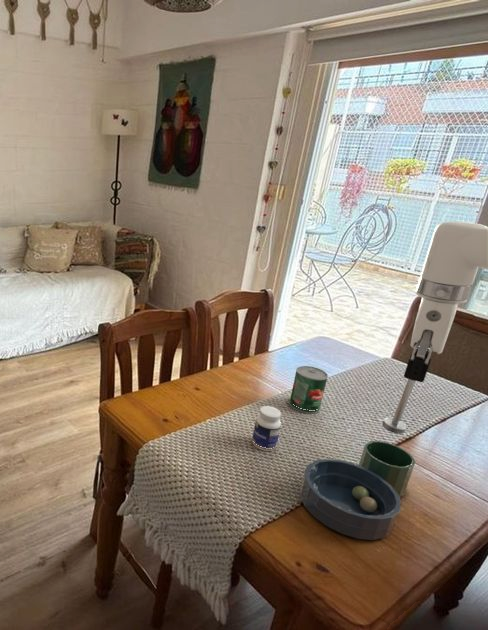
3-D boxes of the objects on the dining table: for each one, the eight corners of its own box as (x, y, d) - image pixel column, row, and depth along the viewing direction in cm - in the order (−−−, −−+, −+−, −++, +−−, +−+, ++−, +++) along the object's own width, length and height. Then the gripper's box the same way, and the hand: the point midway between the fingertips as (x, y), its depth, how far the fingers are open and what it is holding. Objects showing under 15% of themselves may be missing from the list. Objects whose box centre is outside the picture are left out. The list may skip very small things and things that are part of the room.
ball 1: (364, 482, 92) (352, 487, 94) (358, 485, 91) (346, 491, 92) (374, 495, 91) (362, 501, 93) (369, 499, 89) (356, 505, 91)
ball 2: (378, 513, 89) (381, 509, 86) (362, 515, 89) (364, 510, 87) (372, 498, 91) (374, 493, 88) (356, 499, 91) (358, 495, 89)
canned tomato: (317, 417, 122) (326, 382, 118) (287, 408, 126) (294, 374, 122) (321, 404, 128) (329, 370, 124) (291, 395, 132) (298, 363, 128)
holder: (407, 482, 98) (417, 453, 95) (400, 504, 92) (411, 474, 89) (360, 463, 104) (369, 435, 101) (351, 483, 98) (360, 454, 95)
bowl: (398, 507, 91) (406, 484, 89) (384, 558, 80) (393, 534, 78) (312, 470, 102) (317, 448, 100) (288, 510, 90) (293, 487, 88)
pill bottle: (246, 440, 112) (252, 407, 108) (264, 435, 114) (270, 402, 110) (263, 454, 107) (270, 419, 103) (281, 449, 109) (288, 415, 105)
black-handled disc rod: (406, 428, 93) (436, 352, 86) (403, 436, 90) (434, 358, 83) (383, 419, 96) (411, 345, 89) (380, 427, 93) (409, 351, 86)
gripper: (466, 304, 74) (433, 399, 80) (471, 284, 85) (441, 369, 91) (411, 295, 78) (384, 385, 85) (422, 277, 89) (398, 358, 96)
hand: (414, 376), depth 88 cm, fingers closed on black-handled disc rod, 2 cm apart
